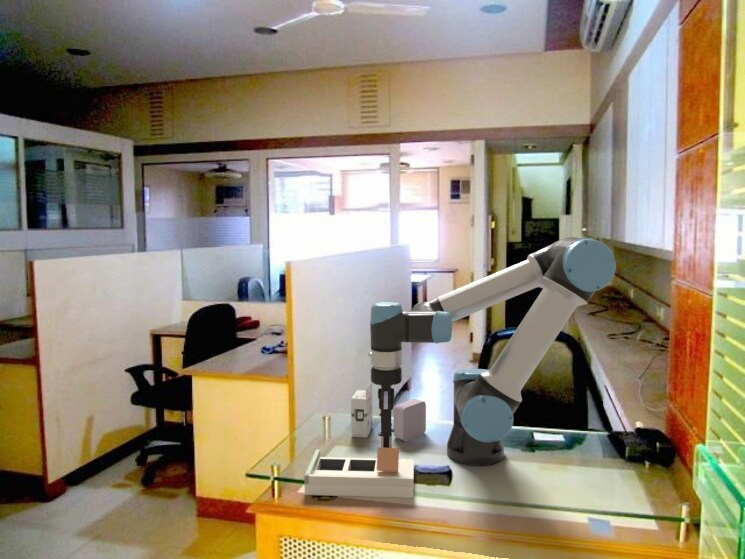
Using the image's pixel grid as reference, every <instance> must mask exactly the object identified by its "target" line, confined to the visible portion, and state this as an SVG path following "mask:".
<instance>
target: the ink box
mask: <svg viewBox="0 0 745 559" xmlns="http://www.w3.org/2000/svg"><path fill="white" fill-rule="evenodd" d="M350 414H351V417H350V422H351V425H350V426H351V432H350V433H351V437H352V438H368V437H369V435H370V433H371V431H372V430H373V427H372V426H373V419H374V418H373V383H372V382H371V381H370V383H369V384H368V385H367V387H366V389H365V390H364V389H362V390H361V389H356V390H355V393H354V394H353V395H352V397H351V398H350Z"/></svg>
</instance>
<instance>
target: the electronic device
mask: <svg viewBox="0 0 745 559" xmlns="http://www.w3.org/2000/svg"><path fill="white" fill-rule="evenodd" d="M393 429H394V432H393V437H395V439H398V440H401V441H403V442H408V441H412V440H413V439H415V438H418V437H420V436H422V435H424V434H425V432H426V429H427V404H426V402H425V401H423V400H419V399H416V398H413V399H410V400H407V401H403V402H402V403H399V404H396V405H394V406H393Z"/></svg>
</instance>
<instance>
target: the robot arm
mask: <svg viewBox="0 0 745 559" xmlns="http://www.w3.org/2000/svg"><path fill="white" fill-rule="evenodd" d="M616 270H617V263H616V257H615V255H614V253H613V251H612V249H611V247H609V246H608V245H607V244H605V243H604V242H601V241H600V240H597V239H594V238H593V237H592V238H591V237H566V238H561V239H559V240H557V241H555V242H552V244H550V245H549V244H548V245H547V246H545V247H543V248H541V249H539V250H536V251H535V252H532V253H530V254H528V255H527V258H526V260H523V261H520V262H519V263H516V264H513V265H511V266H509V267H506V268H504V269H502V270H499V271H497V272H495V273H492V274H490V275H488V276H485V277H483V278H480V279H478V280H475V281H473V282H471V283H469V284H467V285H464V286H461V287H458V288H456V289H454V290H451V291H450V292H447V293H445V294H442V295H440V296H438V297H436V298H432V299H430V300H428V301H420V302H418V303H416V304H415V305H414V306H413V307H412V308H411V311H406V310H403V308H402V304H401V303H399V302H392V301H381V302H375V303H374V304H373V305H372V306H371V309H370V323H369V324H370V326H369V330H370V332H369V333H370V352H368V354H367V356H368V357H370V365H371V367H370V383H371V382H372V384H374V385H379V386H380V387H378V388H377V389H378V390H377V396H378V397H377V399H378V408H379V410H380V432H378V434H377V435H378V437H380V447H382V448H393V433H394V428H392V427H393V423H392V410H394V399H395V387H392V386H395V385H399V384H401V382H402V378H403V377H402V376H403V373H402V367H401V366H402V365H403V348H402V347H403V346H402V345H403V344H402V343H420V344H421V343H423V344H424V343H425V344H428V343H429V344H441V343H443V344H444V343H449V342H450V341H451V340H452V337H453V336H452V335H453V322H456V321H459V320H461V319H463V318H466V317H468V316H471V315H474V314H475V313H478V312H480V311H482V310H485V309H488V308H490V307H492V306H493V307H494V306H495V305H497V304H500V303H502V302H504V301H507V300H509V299H512V298H515V297H516V296H519V295H521V294H524V293H526V292H529V291H532V290H534V289H536V288H541V289H542V290H541V291H540V293H539V294H538V296H537V298H536V299H535V300H534V302H533V304H532V305H531V307H530V308H529V310H528V311H527V313H526V314H525V315H524V317H523V319H522V320H521V322H520V324H519V325H518V326H517V328H516V330H515V331H514V332H513V334H512V336H511V337H510V338H509V340H508V342H507V343H506V344H505V346H504V348H503V349H502V351H501V352H500V353H499V355H498V357H497V358H496V360H495V361H494V363H493V364H492V366H491V368H490V369H483V368H465V369H457V370H456V371H455V372H454V374H453V380H452V384H453V424H452V425H453V426H452V429H451V431H450V434H449V437H448V440H447V443H446V454H447V456H448V457H449V458H450V459H451V460H453V461H455V462H458V463H460V464H465V465H471V466H490V465H495V464H497V463H499V462H501V461H502V460H503V459H504V456H505V446H504V444H503V441H502V439H504V438H505V437H507V436H508V434H509V433H510V431H511V430H512V428H513V425H514V414H515V412H516V411H517V409H518V407H519V406H520V404H521V403H522V401H523V398H522V392H521V391H522V389H523V388H524V386H525V385H526V383H527V382H528V380H529V379H530V377H531V376H532V374H533V373H534V371H535V370H536V368H537V367H538V365H540V362H541V361H542V359H543V358H544V357H545V355H546V354H547V352H548V350H549V349H550V347H551V346H552V345H553V343H554V341H555V340H556V339H557V337H558V335H559V334H560V332H561V331H562V330H563V328H564V327H565V325H566V324H567V322H568V321H569V319H570V317H572V315H573V313H574V312H575V310H576V309H577V307H580V306H586V305H587V304H588V303H589V302H590V300H591V299H592V297H593V295H595V293H596V292H598V291H600V290H602V289H604V288H606V287H607V286H608V285H609V284H610V283H611V281H612V280H613V278H614V276H615V273H616Z"/></svg>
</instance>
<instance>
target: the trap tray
mask: <svg viewBox="0 0 745 559" xmlns="http://www.w3.org/2000/svg"><path fill="white" fill-rule="evenodd" d="M414 464H415V462H414V458H399V465H398V472H391V471H377V457H376V458H374V457H369V458H368V457H340V456H339V457H336V456H335V457H331V456H330V457H329V456H321V449H315V451H314V454H313V456H312V458H311V460H310V463H309V465H308V467H307V470H306V471H305V473H304V476H303V479H304V496H334V497H336V496H337V497H364V498H365V497H369V498H398V499H399V498H401V499H402V498H403V499H405V498H406V499H414V492H413V489H414V480H415V479H414V477H415V476H414V473H415V471H414V470H415V469H414V467H415V465H414Z"/></svg>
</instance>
